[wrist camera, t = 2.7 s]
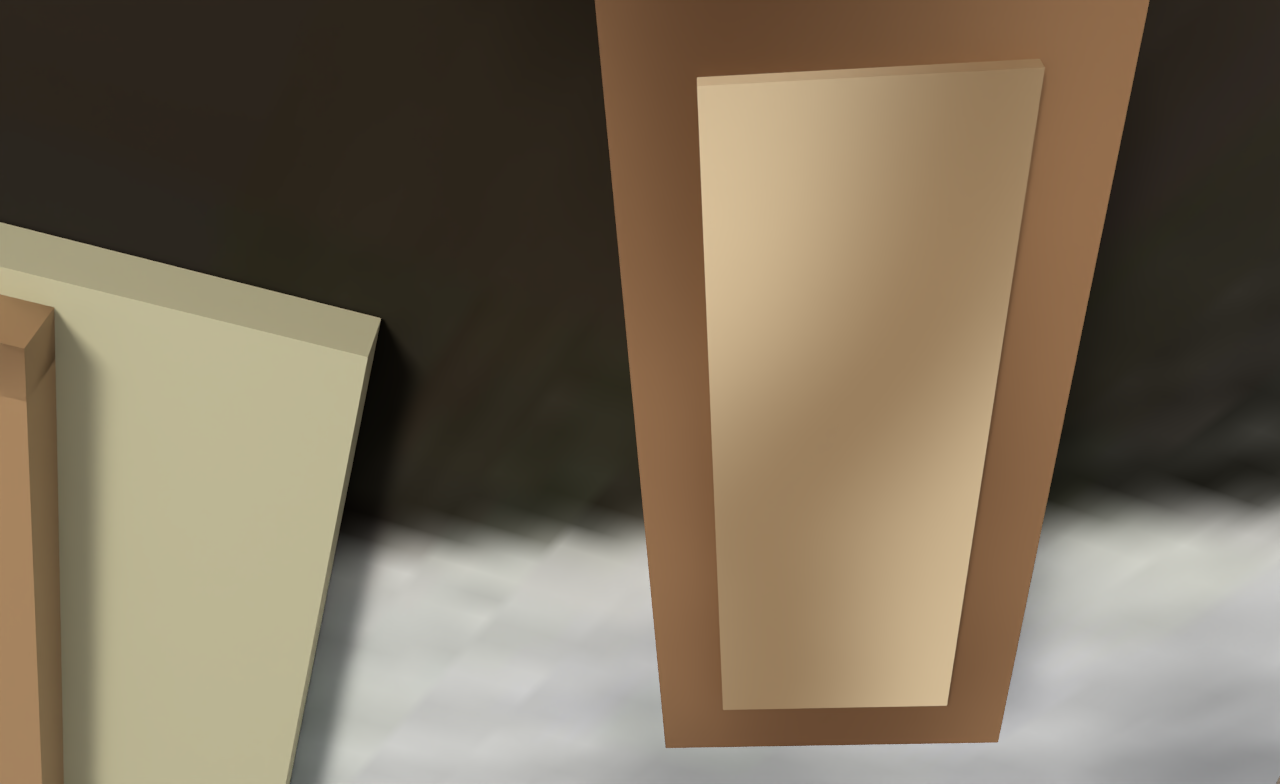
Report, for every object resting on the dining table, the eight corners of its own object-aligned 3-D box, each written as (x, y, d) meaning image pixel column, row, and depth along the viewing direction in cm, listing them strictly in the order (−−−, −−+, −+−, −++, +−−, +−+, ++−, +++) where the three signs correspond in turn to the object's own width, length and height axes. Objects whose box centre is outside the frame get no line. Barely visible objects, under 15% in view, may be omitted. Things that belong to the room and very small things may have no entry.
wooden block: (1041, -201, 14) (1173, -74, 10) (944, 527, 21) (1000, 753, 17) (614, -171, 14) (588, -36, 10) (668, 535, 21) (665, 759, 18)
